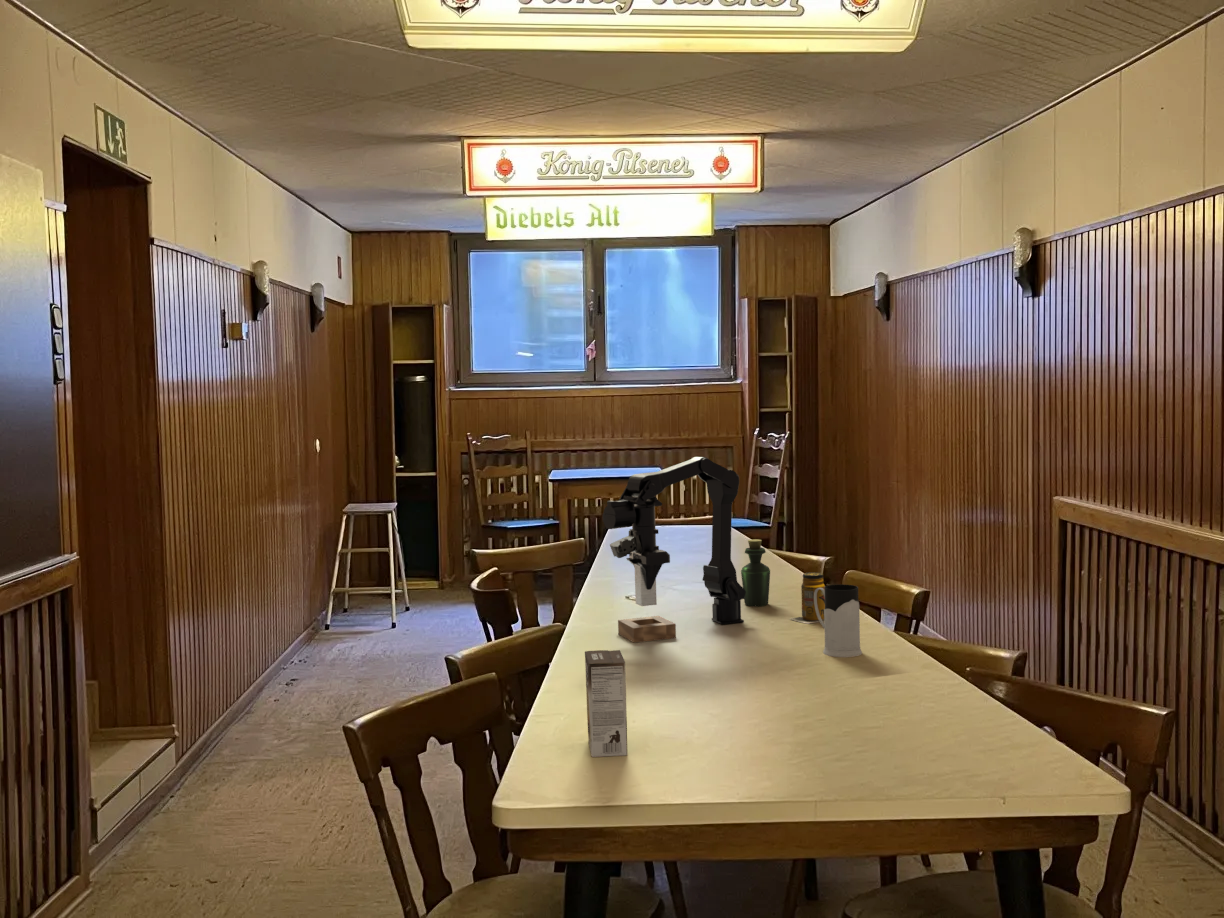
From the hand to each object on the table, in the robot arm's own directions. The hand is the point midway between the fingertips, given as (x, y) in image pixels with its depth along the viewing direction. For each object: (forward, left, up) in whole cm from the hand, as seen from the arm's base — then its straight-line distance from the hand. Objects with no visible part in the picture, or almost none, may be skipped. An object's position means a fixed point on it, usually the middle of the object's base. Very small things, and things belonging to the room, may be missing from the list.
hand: (645, 588), depth 281 cm
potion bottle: (-42, -23, -12) cm, 49 cm away
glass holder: (-33, +34, -12) cm, 49 cm away
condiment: (-45, +2, -12) cm, 47 cm away
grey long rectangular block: (0, 0, -4) cm, 4 cm away
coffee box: (+38, +78, -12) cm, 88 cm away
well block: (0, 0, -12) cm, 12 cm away
